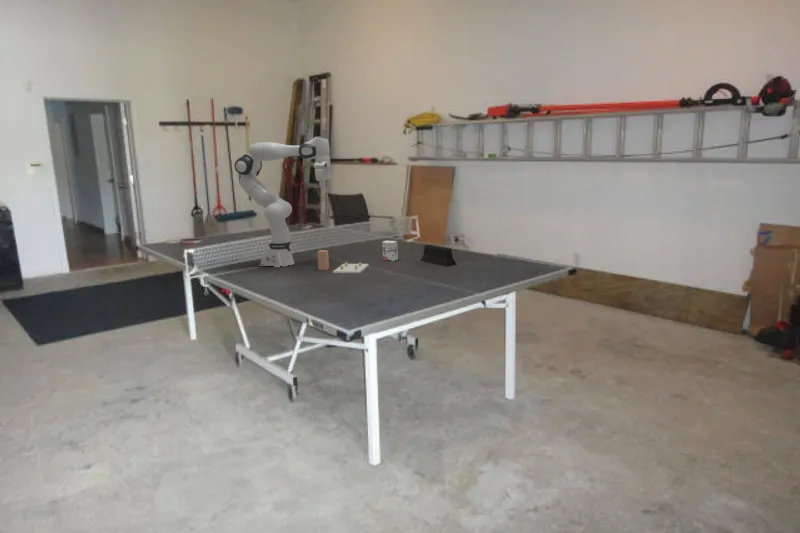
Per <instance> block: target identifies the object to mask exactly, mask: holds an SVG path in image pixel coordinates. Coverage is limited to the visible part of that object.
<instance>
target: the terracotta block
mask: <svg viewBox="0 0 800 533" xmlns="http://www.w3.org/2000/svg"><path fill="white" fill-rule="evenodd" d="M316 253H317V254H316V256H317V266H318V271H328V270H329V269H330V261H329V249H319V250H318V251H317V252H316Z"/></svg>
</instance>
